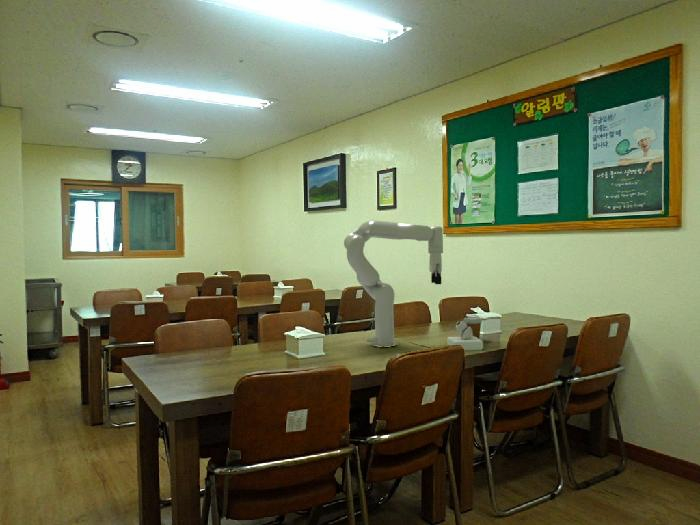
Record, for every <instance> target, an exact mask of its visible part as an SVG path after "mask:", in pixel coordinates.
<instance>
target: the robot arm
mask: <svg viewBox="0 0 700 525" xmlns="http://www.w3.org/2000/svg"><path fill="white" fill-rule="evenodd" d="M443 232H444V230H443V227H442V226H436V225H435V226H428V225H422V224H412V223H411V224H410V223H403V222H402V223H400V222H392V221H382V220H367V221H365V222H363V223H362V224H361V225H359V226H358V227H357V228H355V229H354V230H353V231H352V232H350V233H349V234H348V235H347V236H346V237H345V238H344V241H343V246H344V248H345V250H346V258H347V262H348V264H349V266H350V267H351V268H352V269H353V271H354V272H355V273H356V280H357V281H358V283H359V285H360V286H361V287H362V288H363V289H364V290H365V291H366V293H367V294H368V295H369V296H370V297H371V298H372V299H373V300H375V303H374V328H375V329H374V336H372V337H366V339H365V341H366V342H367V343H372V344H374V345H378V346H393V345H397V346H398V342H397V341H395V320H394V316H395V315H394V313H395V312H394V305H395V303H394V302H395V290H394V288H393V287H392V286H391V285H390V284H389V283H386V282H383V281H382V280H381V279H380V274H379V271H378V270H377V269H376V268H375V267H374V266H373V264H371V262H370V261H369V259H368V258H367V257H366V255H365V253H364V248H365V244H366V243H367V242H368V241H369V240H370V239H371V238H375V239H376V238H377V239H384V240H385V239H386V240H388V239H389V240H399V241H400V240H415V241H418V242H427V245H428V246H427V248H428V249H427V250H428V252H427V253H428V254H429V261H428V262H429V266H428V268H429V270H428V271H429V272H430V274H431V275H430V278H431V284H435V285H442V270H443V266H442V264H443V262H442V261H443V260H442V258H443V257H442V254H444V237H443V236H444V235H443V234H444V233H443Z"/></svg>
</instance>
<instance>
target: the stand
mask: <svg viewBox="0 0 700 525" xmlns="http://www.w3.org/2000/svg"><path fill="white" fill-rule="evenodd" d="M446 338H447V339H446V342H447V343H446V344H447V346H448V345H461V346H463V347H464V348H465V350H464V351H483V350H484V341H483V340H482V339H480V338H479V339H478V338H477V337H475V336H472V338H470V339H465V340H463V339H462V337H461V336H448V337H446ZM482 349H483V350H482Z"/></svg>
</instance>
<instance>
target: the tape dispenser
mask: <svg viewBox="0 0 700 525" xmlns="http://www.w3.org/2000/svg"><path fill="white" fill-rule="evenodd" d="M455 328H456V332H457V333H458V335H459V337H462V339H463V340H465V339H470V338H472V336H473V334H472V332H473V331H472V329H471V327H468V328H467V324H466V323H465V322H464V321H463V320H461V321H459V320H458V321H457V322H456V325H455Z"/></svg>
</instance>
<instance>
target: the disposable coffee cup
mask: <svg viewBox="0 0 700 525" xmlns="http://www.w3.org/2000/svg"><path fill="white" fill-rule="evenodd" d="M462 321H463V322H465V323H466V324H467V328H468V327H471V329H472V331H473V332H472V334H473V336H475V337H477V338H478V339H480V336H481V326H482V318H481V317H476V316H468V317H464V318H463V320H462Z"/></svg>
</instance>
